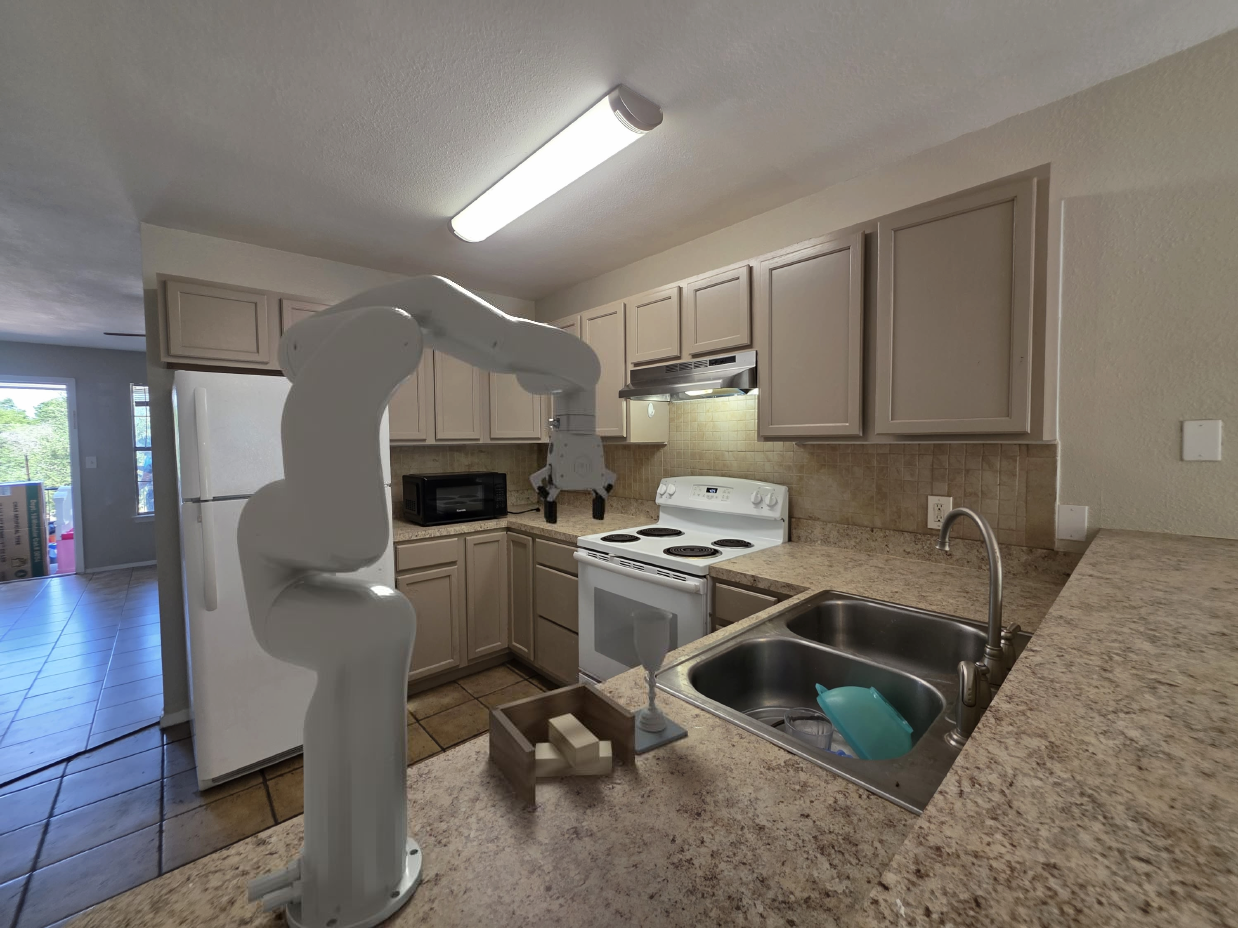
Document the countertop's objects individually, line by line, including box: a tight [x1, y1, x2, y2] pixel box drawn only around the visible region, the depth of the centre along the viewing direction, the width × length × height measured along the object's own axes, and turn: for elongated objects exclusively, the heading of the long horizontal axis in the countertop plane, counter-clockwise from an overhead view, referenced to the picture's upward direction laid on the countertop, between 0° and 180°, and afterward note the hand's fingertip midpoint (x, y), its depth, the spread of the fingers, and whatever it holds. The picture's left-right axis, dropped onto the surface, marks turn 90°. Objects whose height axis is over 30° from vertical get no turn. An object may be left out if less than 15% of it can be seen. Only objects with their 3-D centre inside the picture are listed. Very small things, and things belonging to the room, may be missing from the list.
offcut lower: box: [535, 741, 613, 778], centre depth 74 cm, size 11×4×3 cm, turn 93°
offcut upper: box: [548, 714, 600, 770], centre depth 73 cm, size 9×4×3 cm, turn 32°
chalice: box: [630, 608, 673, 732], centre depth 84 cm, size 7×7×18 cm
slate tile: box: [631, 708, 689, 755], centre depth 83 cm, size 10×10×1 cm
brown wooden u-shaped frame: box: [488, 680, 636, 808], centre depth 75 cm, size 17×14×7 cm
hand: (575, 521), depth 92 cm, fingers open, 9 cm apart
